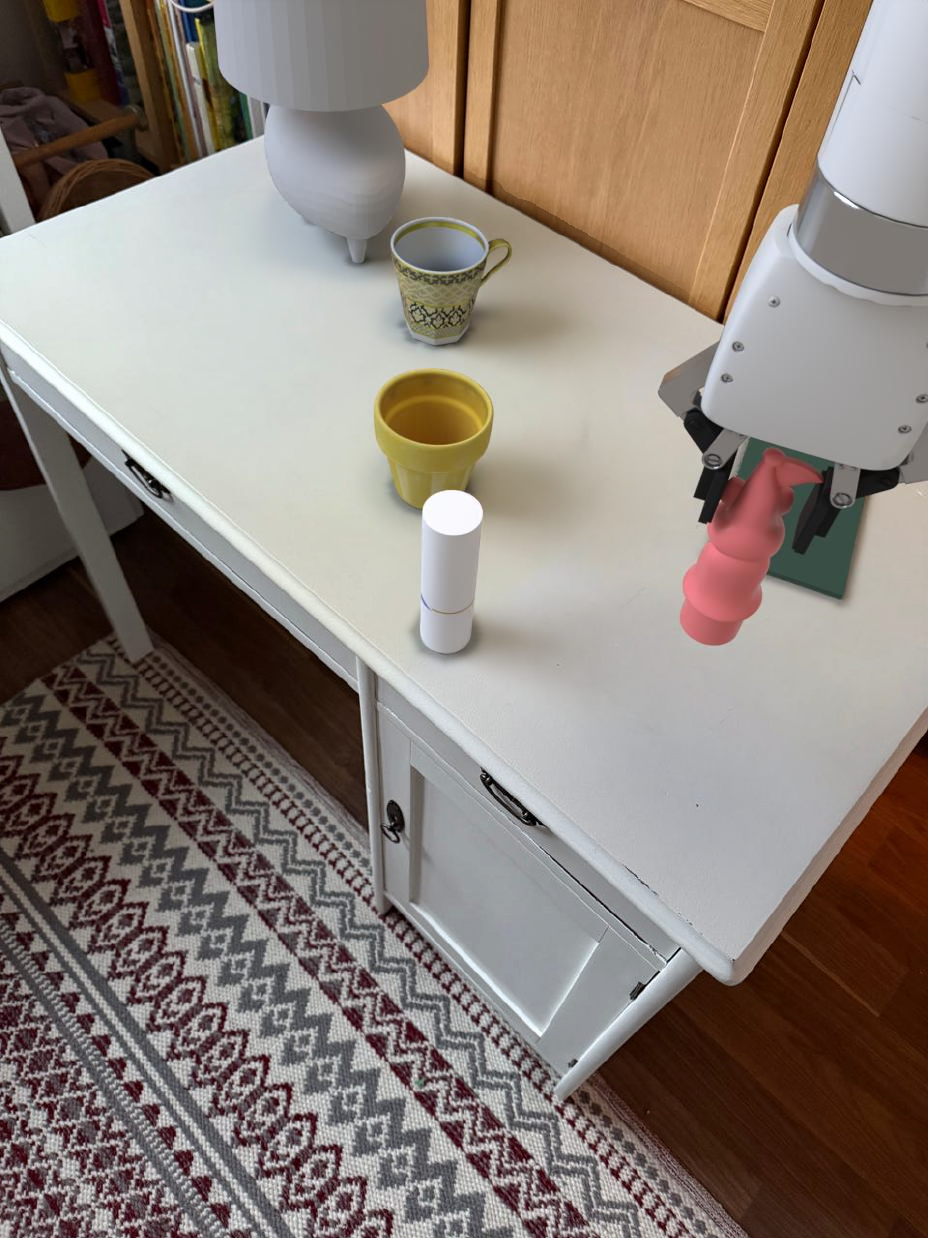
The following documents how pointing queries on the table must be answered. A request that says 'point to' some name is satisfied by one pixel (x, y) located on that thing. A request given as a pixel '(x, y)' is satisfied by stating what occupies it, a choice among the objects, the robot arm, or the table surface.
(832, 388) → the robot arm
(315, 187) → the table lamp
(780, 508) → the figurine
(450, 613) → the tube
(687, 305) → the table surface
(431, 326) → the ceramic cup
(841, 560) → the mat
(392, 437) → the flower pot
